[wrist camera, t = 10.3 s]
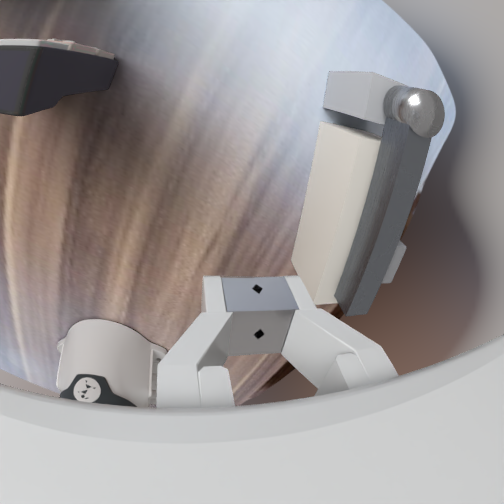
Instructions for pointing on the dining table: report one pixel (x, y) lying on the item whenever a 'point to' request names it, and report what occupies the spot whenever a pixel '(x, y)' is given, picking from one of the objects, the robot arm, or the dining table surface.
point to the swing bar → (389, 193)
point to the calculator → (49, 73)
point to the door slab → (335, 209)
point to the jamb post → (358, 94)
